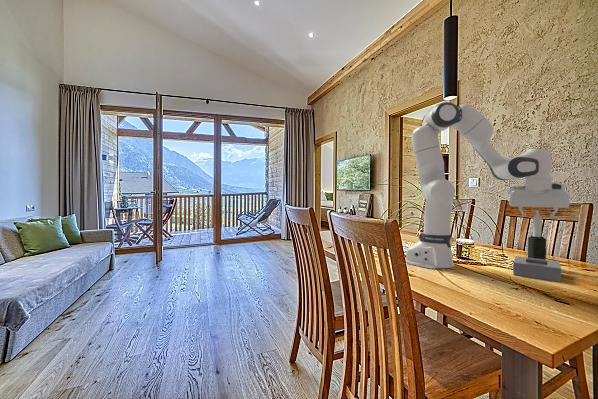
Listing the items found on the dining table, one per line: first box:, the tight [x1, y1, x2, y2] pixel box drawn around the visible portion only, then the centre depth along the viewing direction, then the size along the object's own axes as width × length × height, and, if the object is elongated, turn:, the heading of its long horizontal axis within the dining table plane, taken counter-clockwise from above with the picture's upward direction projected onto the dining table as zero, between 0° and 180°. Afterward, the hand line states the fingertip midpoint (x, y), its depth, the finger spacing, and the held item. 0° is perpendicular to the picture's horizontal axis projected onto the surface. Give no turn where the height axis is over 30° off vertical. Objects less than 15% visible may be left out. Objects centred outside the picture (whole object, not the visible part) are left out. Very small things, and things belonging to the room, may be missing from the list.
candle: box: [527, 209, 547, 260], centre depth 124 cm, size 5×5×25 cm
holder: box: [512, 255, 562, 283], centre depth 114 cm, size 14×14×5 cm
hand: (537, 217), depth 124 cm, fingers open, 8 cm apart
